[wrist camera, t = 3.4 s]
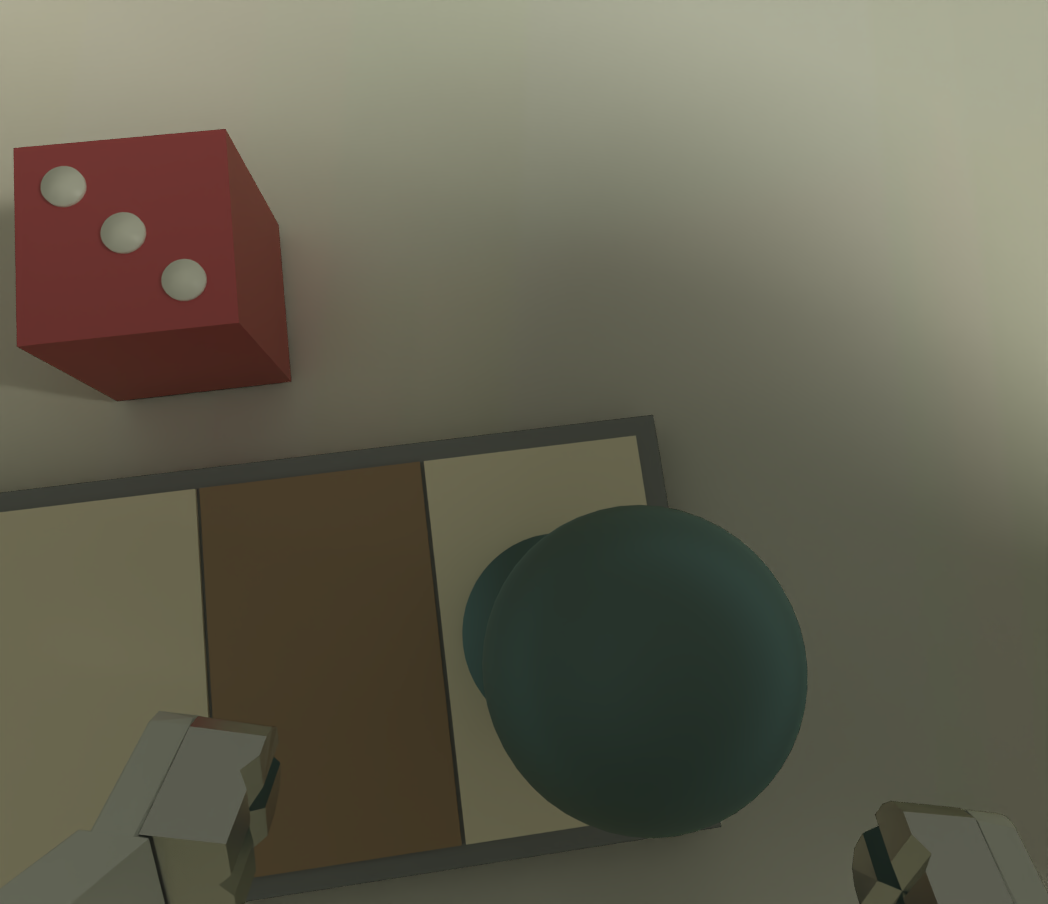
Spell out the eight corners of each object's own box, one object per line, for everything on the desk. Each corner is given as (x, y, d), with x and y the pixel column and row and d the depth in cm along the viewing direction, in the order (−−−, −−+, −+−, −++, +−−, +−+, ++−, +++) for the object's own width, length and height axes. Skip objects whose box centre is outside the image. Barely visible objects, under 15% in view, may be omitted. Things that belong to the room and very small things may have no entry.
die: (278, 221, 22) (223, 121, 17) (291, 381, 21) (237, 321, 16) (111, 237, 22) (10, 140, 17) (117, 401, 21) (13, 344, 16)
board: (646, 422, 21) (653, 414, 20) (710, 816, 19) (722, 827, 18) (-262, 531, 20) (-302, 527, 19) (-283, 971, 18) (-327, 992, 17)
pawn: (630, 527, 20) (867, 402, 7) (659, 710, 19) (977, 910, 7) (454, 550, 19) (397, 459, 7) (475, 737, 19) (453, 998, 6)
